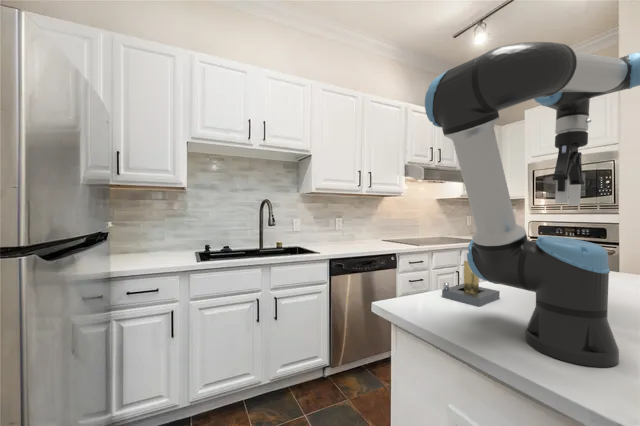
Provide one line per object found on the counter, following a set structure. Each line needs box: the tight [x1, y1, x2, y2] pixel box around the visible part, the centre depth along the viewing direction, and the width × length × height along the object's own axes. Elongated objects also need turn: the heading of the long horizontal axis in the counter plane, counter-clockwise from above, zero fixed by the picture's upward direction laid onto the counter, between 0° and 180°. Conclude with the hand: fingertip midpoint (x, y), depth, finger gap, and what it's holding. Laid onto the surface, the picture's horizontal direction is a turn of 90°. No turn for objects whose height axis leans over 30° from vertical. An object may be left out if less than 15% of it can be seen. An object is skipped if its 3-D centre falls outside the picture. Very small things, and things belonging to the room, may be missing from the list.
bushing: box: [463, 260, 480, 294], centre depth 99 cm, size 4×4×12 cm
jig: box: [441, 282, 501, 308], centre depth 99 cm, size 14×12×4 cm
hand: (568, 204), depth 89 cm, fingers open, 13 cm apart
